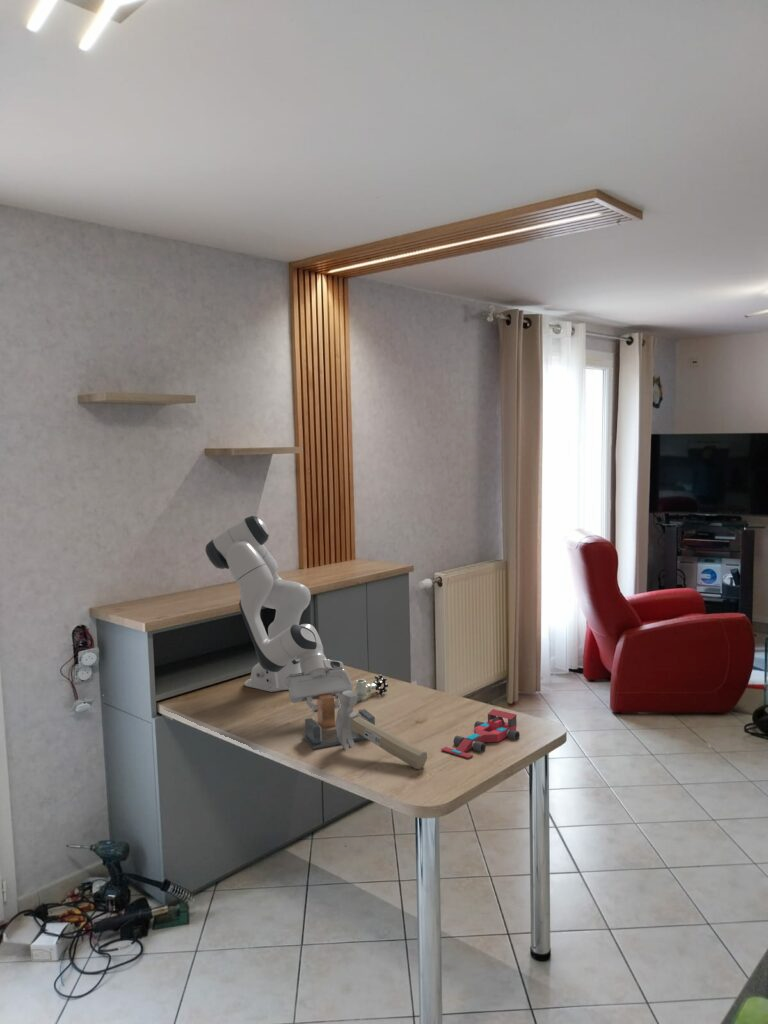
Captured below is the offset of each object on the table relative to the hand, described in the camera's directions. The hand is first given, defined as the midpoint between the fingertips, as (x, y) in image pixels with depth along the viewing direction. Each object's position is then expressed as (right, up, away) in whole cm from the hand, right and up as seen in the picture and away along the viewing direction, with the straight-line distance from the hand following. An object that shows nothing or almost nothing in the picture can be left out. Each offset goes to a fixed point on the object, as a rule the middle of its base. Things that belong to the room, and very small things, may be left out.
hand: (326, 709), depth 238 cm
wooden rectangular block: (0, -5, +1) cm, 5 cm away
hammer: (+17, -7, -26) cm, 32 cm away
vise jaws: (+5, -6, -11) cm, 13 cm away
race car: (+46, -5, -18) cm, 49 cm away
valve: (+13, -3, +27) cm, 30 cm away
